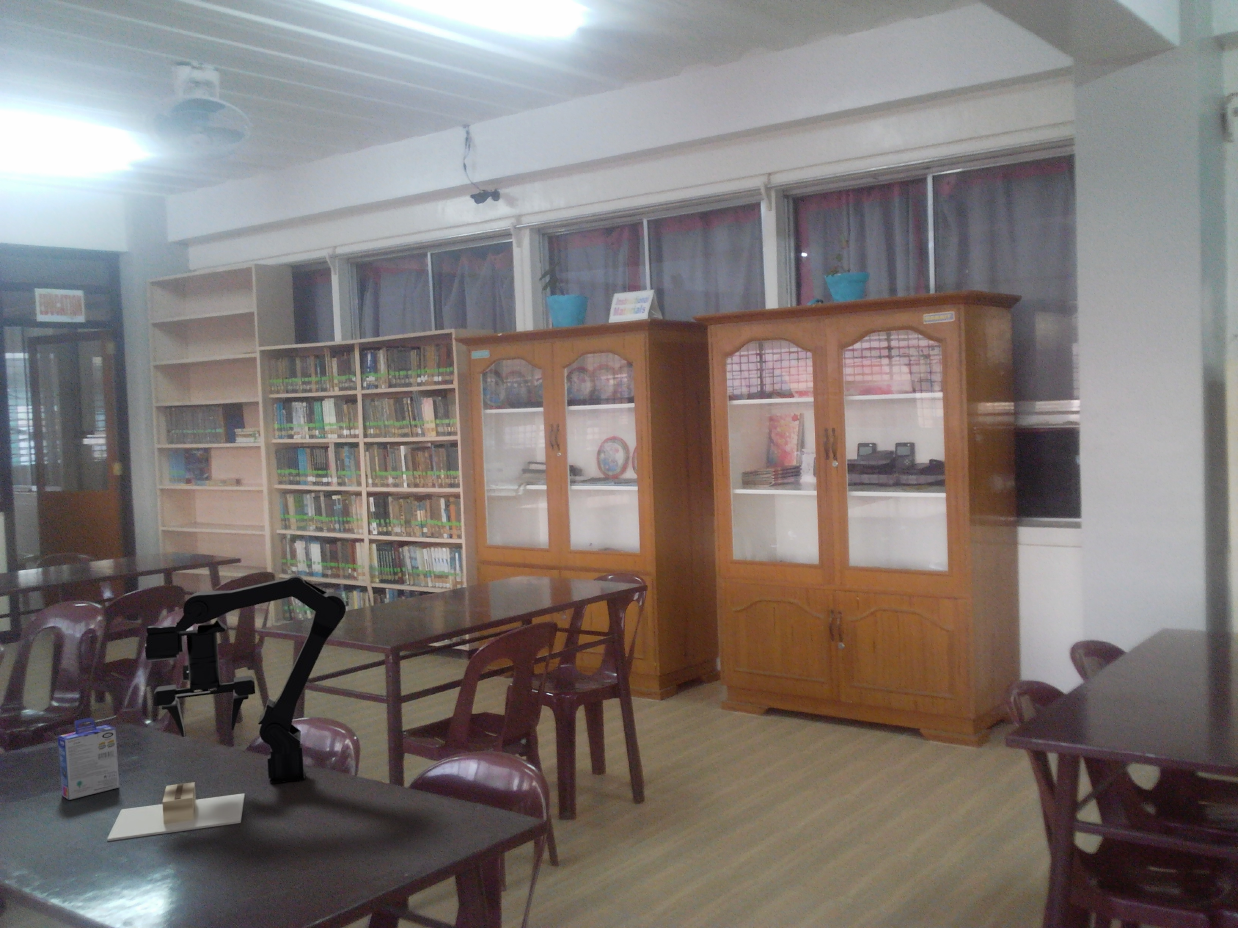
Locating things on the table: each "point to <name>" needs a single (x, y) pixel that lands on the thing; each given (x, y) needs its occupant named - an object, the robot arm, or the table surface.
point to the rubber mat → (152, 823)
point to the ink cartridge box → (88, 760)
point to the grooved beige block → (179, 803)
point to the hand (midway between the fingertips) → (208, 733)
